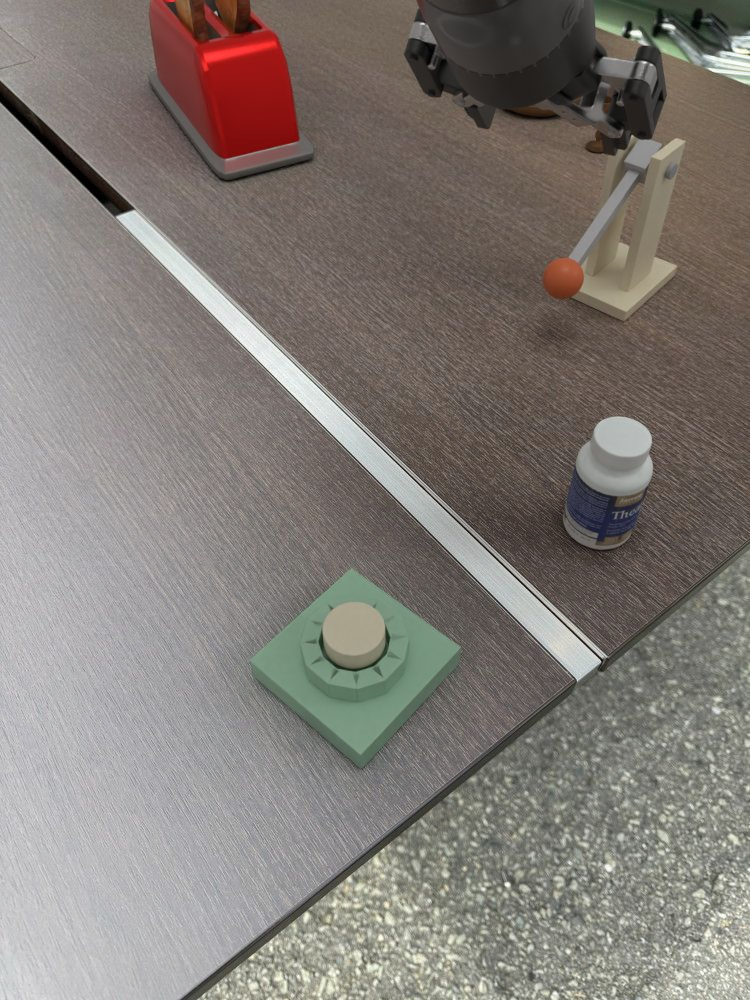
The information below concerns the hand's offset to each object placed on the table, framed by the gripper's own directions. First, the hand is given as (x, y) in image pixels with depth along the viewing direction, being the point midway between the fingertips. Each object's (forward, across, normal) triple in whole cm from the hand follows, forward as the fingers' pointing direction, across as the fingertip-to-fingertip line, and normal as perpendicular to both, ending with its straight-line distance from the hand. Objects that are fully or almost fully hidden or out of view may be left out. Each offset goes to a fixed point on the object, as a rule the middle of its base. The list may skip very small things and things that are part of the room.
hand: (550, 126), depth 54 cm
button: (-5, 0, +35) cm, 36 cm away
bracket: (+34, -3, +2) cm, 34 cm away
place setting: (+57, +16, -21) cm, 63 cm away
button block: (-2, 0, +38) cm, 38 cm away
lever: (+25, -2, 0) cm, 25 cm away
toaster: (+44, +53, -8) cm, 70 cm away
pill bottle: (+12, -11, +24) cm, 29 cm away
